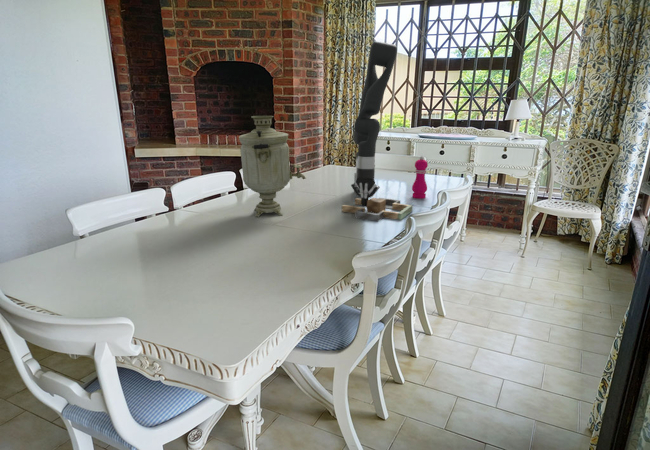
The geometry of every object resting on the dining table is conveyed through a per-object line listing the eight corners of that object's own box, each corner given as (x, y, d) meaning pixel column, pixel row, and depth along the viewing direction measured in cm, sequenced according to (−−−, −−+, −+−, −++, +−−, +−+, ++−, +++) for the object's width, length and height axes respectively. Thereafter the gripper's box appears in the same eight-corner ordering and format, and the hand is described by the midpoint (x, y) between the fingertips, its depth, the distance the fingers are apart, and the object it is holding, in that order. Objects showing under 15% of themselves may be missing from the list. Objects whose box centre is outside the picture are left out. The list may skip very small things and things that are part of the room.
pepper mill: (409, 197, 205) (412, 156, 199) (413, 194, 211) (416, 154, 205) (424, 199, 202) (427, 157, 196) (428, 196, 208) (431, 155, 202)
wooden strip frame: (335, 214, 177) (335, 209, 177) (361, 200, 200) (361, 195, 199) (396, 223, 165) (396, 217, 165) (416, 207, 188) (416, 202, 187)
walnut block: (366, 211, 182) (367, 200, 180) (372, 208, 187) (373, 197, 185) (379, 213, 179) (380, 202, 177) (385, 210, 184) (385, 199, 182)
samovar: (294, 225, 163) (292, 119, 151) (230, 221, 168) (223, 118, 156) (312, 205, 191) (311, 114, 179) (257, 202, 196) (252, 113, 184)
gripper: (347, 166, 179) (347, 206, 185) (377, 169, 173) (375, 210, 179) (355, 164, 186) (354, 202, 191) (383, 166, 180) (381, 206, 185)
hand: (364, 206), depth 185 cm, fingers closed
